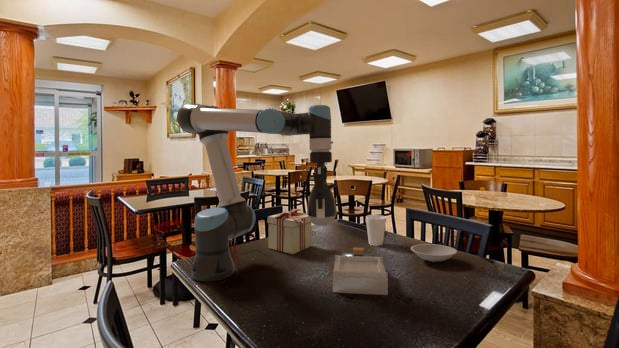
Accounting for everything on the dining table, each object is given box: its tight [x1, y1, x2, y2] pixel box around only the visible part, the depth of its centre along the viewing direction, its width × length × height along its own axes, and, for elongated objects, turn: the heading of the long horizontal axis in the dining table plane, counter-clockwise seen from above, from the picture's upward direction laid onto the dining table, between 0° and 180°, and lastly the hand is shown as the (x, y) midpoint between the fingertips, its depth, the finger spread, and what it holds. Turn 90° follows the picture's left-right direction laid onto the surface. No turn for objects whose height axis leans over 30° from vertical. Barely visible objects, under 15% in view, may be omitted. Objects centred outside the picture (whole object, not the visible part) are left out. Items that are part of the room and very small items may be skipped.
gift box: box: [266, 208, 312, 255], centre depth 145 cm, size 17×18×17 cm
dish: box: [410, 243, 458, 263], centre depth 126 cm, size 18×14×5 cm
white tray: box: [332, 247, 389, 296], centre depth 110 cm, size 17×23×8 cm
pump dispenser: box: [306, 182, 337, 227], centre depth 110 cm, size 10×10×15 cm
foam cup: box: [365, 214, 387, 247], centre depth 150 cm, size 10×9×13 cm
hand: (322, 214), depth 110 cm, fingers closed on pump dispenser, 10 cm apart
